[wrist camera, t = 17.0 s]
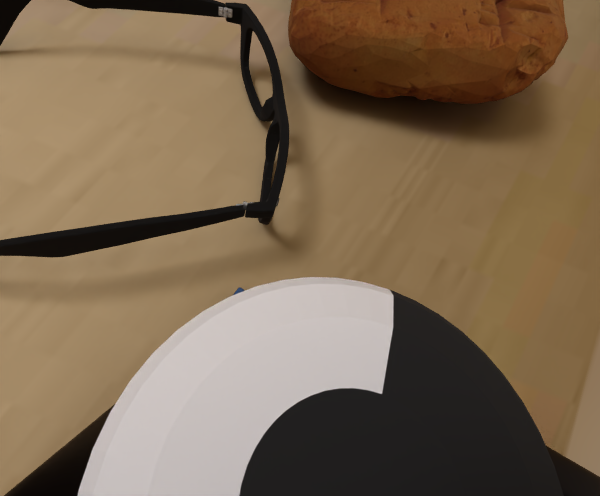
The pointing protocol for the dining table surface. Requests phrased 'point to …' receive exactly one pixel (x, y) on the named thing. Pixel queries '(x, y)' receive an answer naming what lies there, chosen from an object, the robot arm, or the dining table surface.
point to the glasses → (3, 12)
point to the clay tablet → (429, 45)
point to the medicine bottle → (319, 405)
